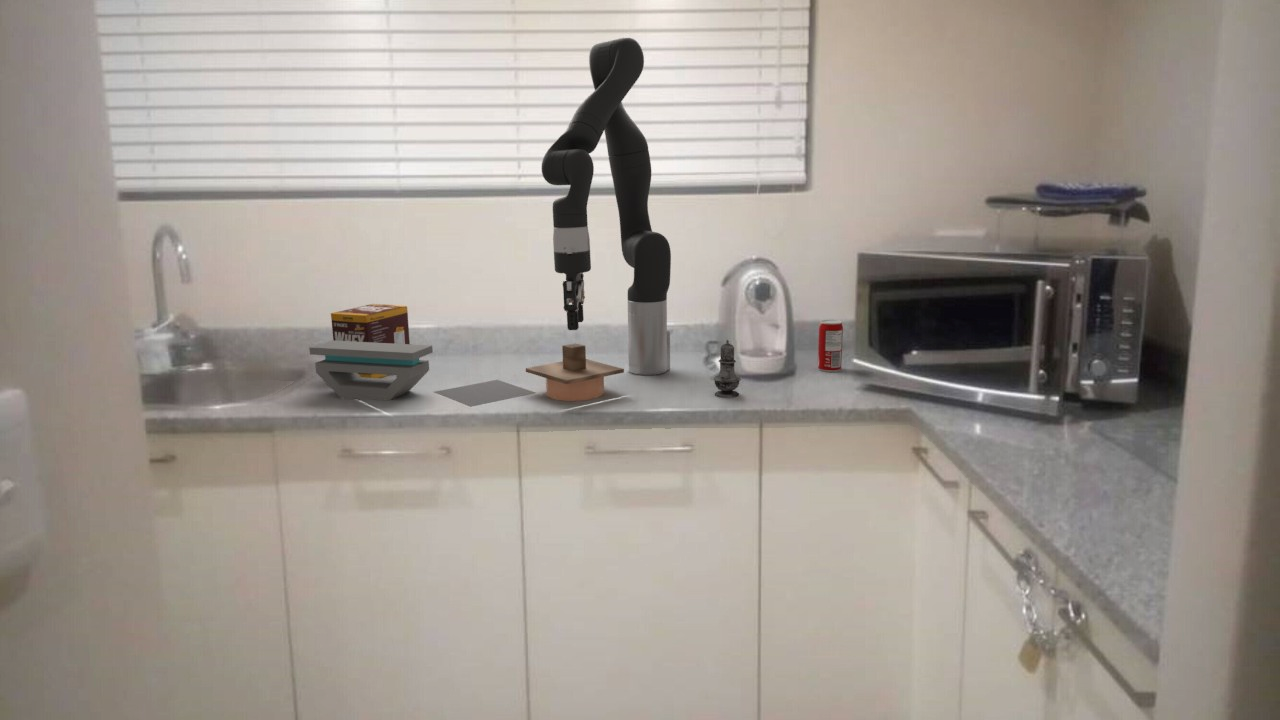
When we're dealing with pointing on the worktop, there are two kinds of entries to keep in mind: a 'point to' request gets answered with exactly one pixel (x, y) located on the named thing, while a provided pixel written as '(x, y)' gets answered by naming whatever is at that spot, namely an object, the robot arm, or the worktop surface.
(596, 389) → the terracotta bowl
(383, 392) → the sharpening stone
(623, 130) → the robot arm
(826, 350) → the soda can
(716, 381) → the salt shaker
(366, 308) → the supplement box
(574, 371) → the walnut lid
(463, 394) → the charcoal mat
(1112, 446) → the worktop surface
